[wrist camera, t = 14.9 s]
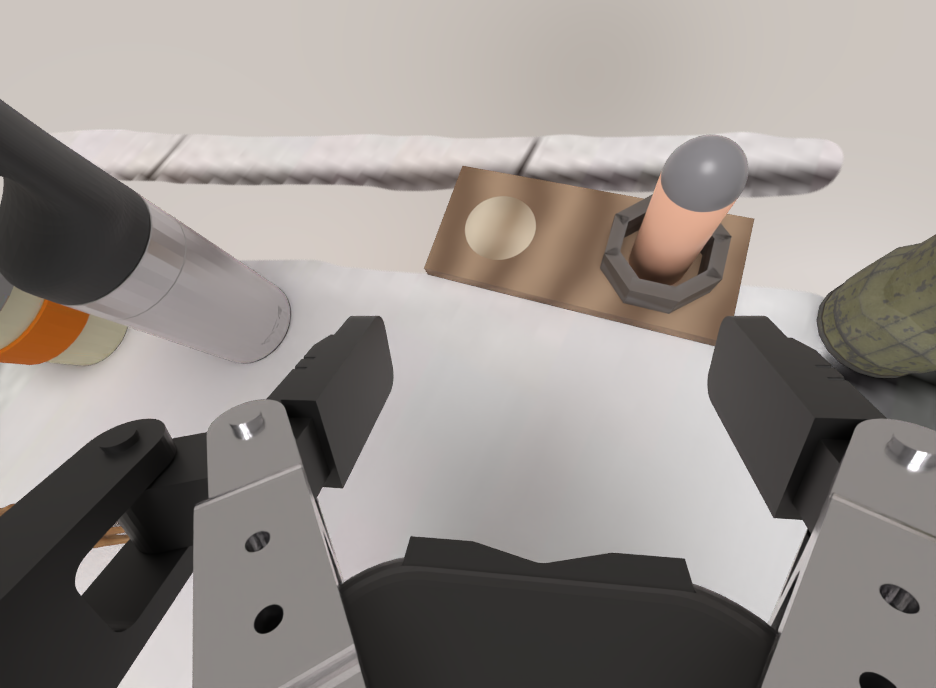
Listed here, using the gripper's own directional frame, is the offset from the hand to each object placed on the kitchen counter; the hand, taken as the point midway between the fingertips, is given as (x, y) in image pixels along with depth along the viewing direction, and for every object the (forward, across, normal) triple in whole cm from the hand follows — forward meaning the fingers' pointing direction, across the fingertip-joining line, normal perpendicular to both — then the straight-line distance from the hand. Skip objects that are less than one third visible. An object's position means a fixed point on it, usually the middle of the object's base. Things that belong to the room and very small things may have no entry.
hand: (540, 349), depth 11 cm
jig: (+33, -4, +9) cm, 34 cm away
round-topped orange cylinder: (+30, -10, +9) cm, 33 cm away
